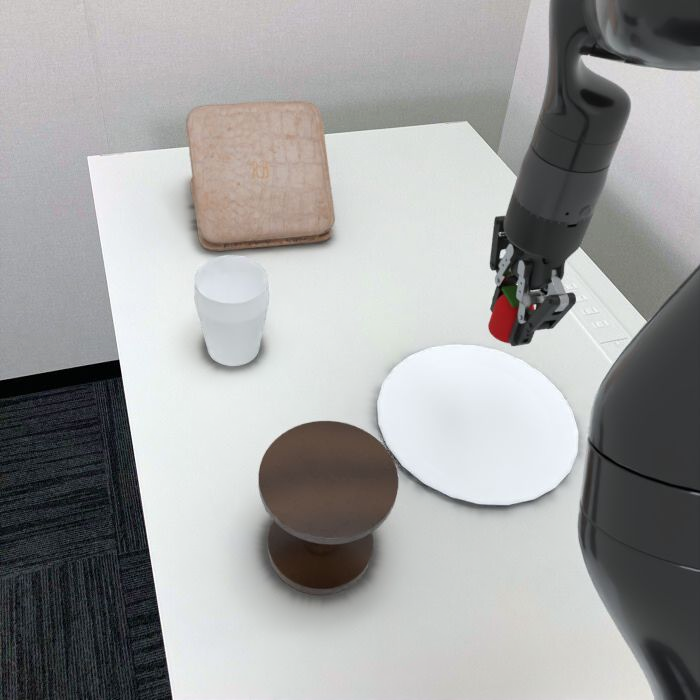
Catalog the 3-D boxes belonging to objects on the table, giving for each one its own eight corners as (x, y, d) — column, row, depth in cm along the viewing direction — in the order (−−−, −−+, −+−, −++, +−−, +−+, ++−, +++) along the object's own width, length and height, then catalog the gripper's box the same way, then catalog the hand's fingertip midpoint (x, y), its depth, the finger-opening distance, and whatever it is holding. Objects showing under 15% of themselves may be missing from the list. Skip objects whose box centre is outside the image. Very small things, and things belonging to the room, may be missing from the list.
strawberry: (533, 340, 79) (547, 305, 75) (497, 346, 78) (509, 310, 74) (516, 314, 81) (529, 278, 78) (482, 318, 80) (493, 283, 77)
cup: (251, 382, 92) (250, 313, 84) (185, 361, 94) (178, 291, 85) (279, 335, 98) (281, 266, 90) (217, 316, 100) (213, 246, 91)
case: (200, 257, 108) (193, 162, 96) (187, 177, 122) (180, 85, 110) (336, 247, 112) (345, 155, 101) (309, 170, 126) (314, 81, 115)
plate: (397, 519, 81) (399, 513, 80) (360, 353, 97) (361, 347, 97) (608, 500, 85) (612, 494, 84) (537, 344, 102) (540, 338, 101)
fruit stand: (397, 588, 75) (417, 522, 66) (272, 618, 72) (274, 552, 62) (361, 483, 83) (374, 411, 74) (247, 504, 80) (246, 432, 71)
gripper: (487, 154, 71) (452, 287, 83) (554, 247, 61) (504, 381, 74) (556, 149, 72) (512, 280, 85) (631, 238, 63) (570, 371, 76)
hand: (508, 326), depth 79 cm, fingers closed on strawberry, 4 cm apart
